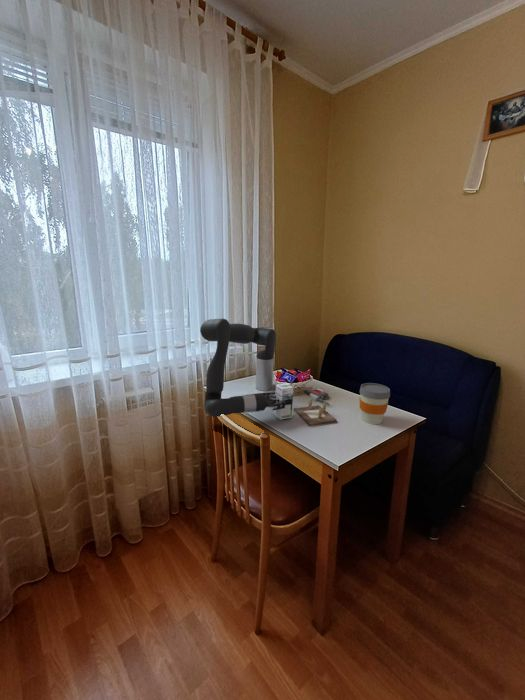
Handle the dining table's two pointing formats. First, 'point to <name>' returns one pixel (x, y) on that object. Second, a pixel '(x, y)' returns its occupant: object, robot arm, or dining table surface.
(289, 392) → the syrup box
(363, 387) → the reusable coffee cup
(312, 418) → the pin board
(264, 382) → the robot arm
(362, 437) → the dining table surface
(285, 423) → the dining table surface
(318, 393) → the walkie-talkie
